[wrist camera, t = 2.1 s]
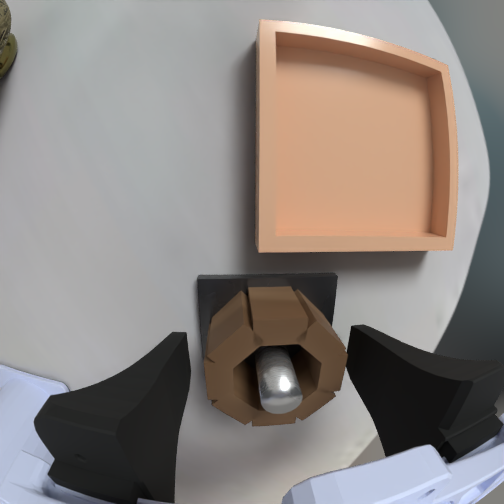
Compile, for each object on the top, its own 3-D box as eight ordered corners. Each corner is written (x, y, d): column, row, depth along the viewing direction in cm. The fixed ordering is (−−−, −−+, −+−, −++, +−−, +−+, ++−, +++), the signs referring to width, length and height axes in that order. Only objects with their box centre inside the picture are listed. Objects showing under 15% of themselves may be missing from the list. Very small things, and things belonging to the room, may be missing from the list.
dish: (431, 242, 12) (452, 250, 11) (254, 242, 12) (258, 252, 10) (427, 74, 10) (447, 65, 9) (255, 39, 10) (259, 19, 8)
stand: (320, 377, 14) (347, 438, 9) (207, 383, 13) (201, 451, 9) (334, 272, 12) (381, 316, 8) (198, 275, 12) (181, 325, 8)
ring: (316, 378, 13) (332, 417, 10) (214, 384, 13) (211, 426, 10) (328, 284, 12) (355, 314, 9) (207, 287, 12) (199, 320, 9)
